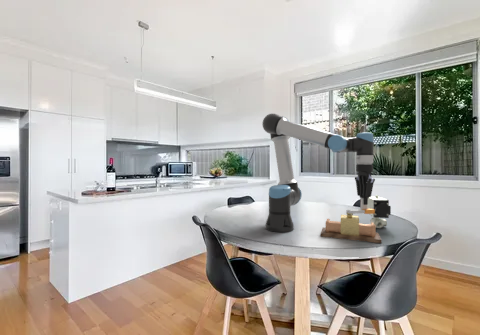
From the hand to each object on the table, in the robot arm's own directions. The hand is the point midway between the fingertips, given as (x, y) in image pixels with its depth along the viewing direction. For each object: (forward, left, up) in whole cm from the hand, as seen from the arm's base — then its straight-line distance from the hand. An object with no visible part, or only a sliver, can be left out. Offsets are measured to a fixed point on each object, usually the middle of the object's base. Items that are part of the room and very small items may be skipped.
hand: (363, 210), depth 124 cm
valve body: (-7, -6, -11) cm, 14 cm away
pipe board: (-7, -6, -12) cm, 15 cm away
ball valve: (+8, +20, -12) cm, 25 cm away
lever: (-2, -3, -1) cm, 4 cm away
